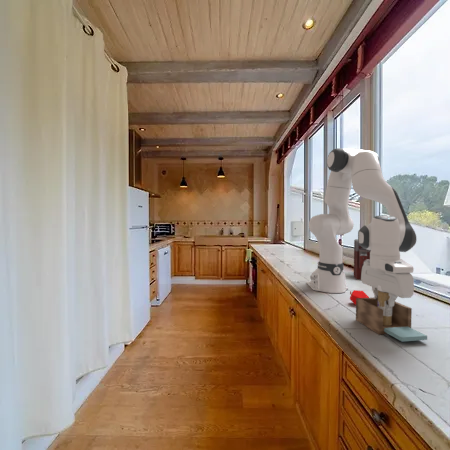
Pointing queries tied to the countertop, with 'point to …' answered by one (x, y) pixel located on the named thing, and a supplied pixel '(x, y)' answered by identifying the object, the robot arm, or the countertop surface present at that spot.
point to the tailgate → (405, 334)
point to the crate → (381, 315)
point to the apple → (357, 295)
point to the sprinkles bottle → (384, 306)
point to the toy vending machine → (359, 259)
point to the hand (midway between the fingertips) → (384, 303)
